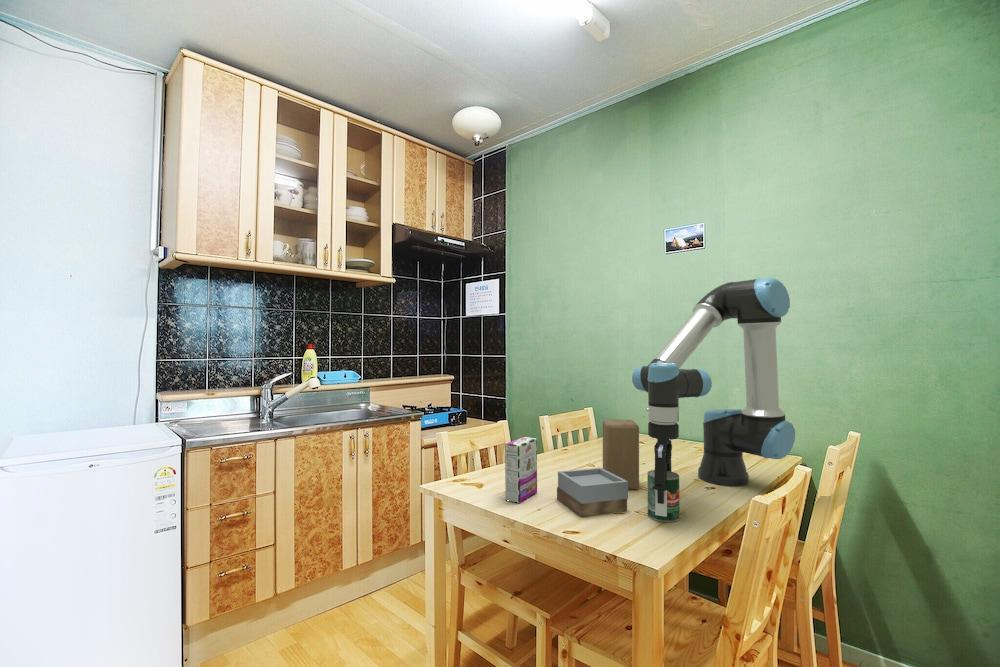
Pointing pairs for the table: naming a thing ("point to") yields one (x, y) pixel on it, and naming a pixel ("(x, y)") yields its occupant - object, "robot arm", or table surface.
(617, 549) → the table surface
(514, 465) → the candy bar box
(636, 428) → the block
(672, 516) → the canned tomato
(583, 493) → the slate grey tray
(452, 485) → the table surface
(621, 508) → the walnut block
